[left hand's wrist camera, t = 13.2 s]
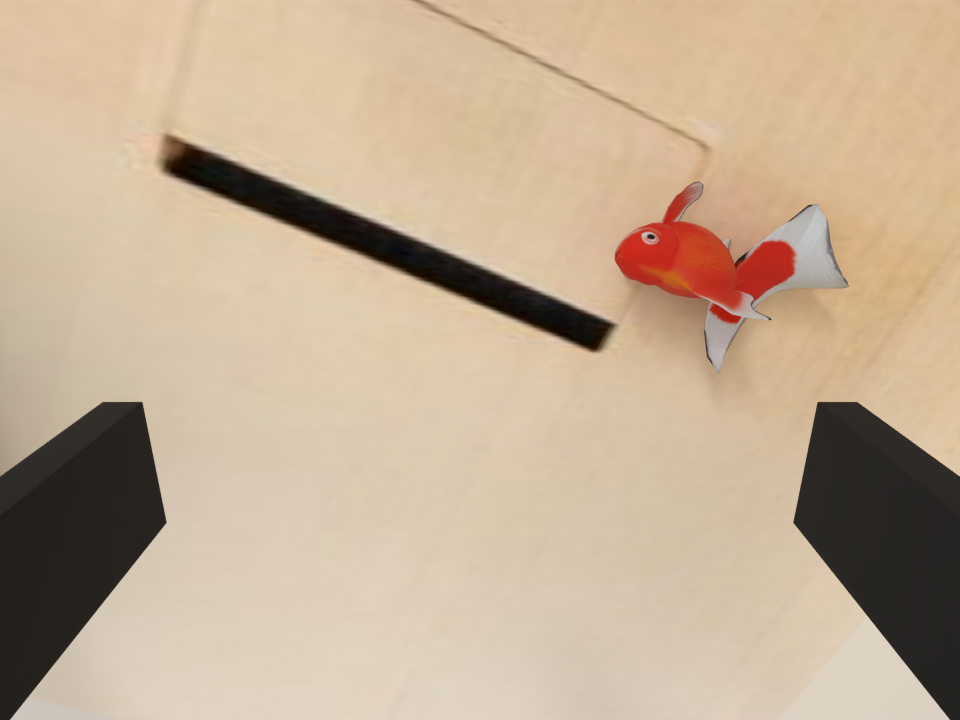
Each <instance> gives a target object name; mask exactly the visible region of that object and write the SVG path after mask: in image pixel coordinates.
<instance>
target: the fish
mask: <svg viewBox="0 0 960 720" xmlns="http://www.w3.org/2000/svg"><path fill="white" fill-rule="evenodd" d="M702 190H703V184H702V183H700V182H695V183H692V184H691V185H689V186H687V187H686V188H685V189H684V190H683V191H682V192H681V193H680V194H678V195H677V196H676V197H675V198H674V200H673V201H672V202H671V204H670V205H669V207H668V209H667V211H666V213H665V216H664V218H663V221H661V222H659V223H651V224H649V225H646V226H643V227H640V228H638V229H636V230H634V231H632V232H630V233H629V234H628V235H627V236H625V237H624V238H623V240H622V241H621V242H620V243H619V245H618V247H617V249H616V252H615V261H616V263H617V265H618V266H619V268H620V270H621V271H622V273H623V275H624V276H625V277H626V278H628V279H632V280H637V281H639V282H642V283H644V284H647V285H657V286H659V287H660V288H662V289H663V290H665V291H667V292H669V293H671V294H674V295H679V296H684V297H692V298H705V299H707V300H709V301H710V303H709V306H708V309H707V314H706V319H705V330H704V333H705V342H706V351H707V357H708V359H709V360H710V362H711V363H712V365H713V366H714V367H715V369H716V370H717V372H718V373H719V372H720V369H721V365H722V362H723V358H724V355H725V353H726V351H727V349H728V347H729V345H730V344H731V342H732V340H733V338H734V336H735V334H736V333H737V331H738V329H739V327H740V326H741V325H742V323H743V322H744V321H745V319H746V318H753V319H764V320H771V318H769V317H767V316H764V315H762V314H760V313H758V312H757V311H755V310H754V308H755V307H756V306H757V305H758V304H759V303H760V302H761V301H763V300H764V299H765V298H767V297H768V296H770V295H772V294H774V293H776V292H779V291H783V290H789V289H796V288H824V289H832V288H846V287H848V286H849V285H848V282H847V281H846V279H845V278H844V277H843V275H842V273H841V271H840V269H839V267H838V265H837V263H836V260H835V257H834V253H833V250H832V247H831V243H830V236H829V227H828V221H827V219H826V217H825V216H824V214H823V212H822V210H821V208H820V207H819V205H818V204H814V205H808V206H807V207H806V208H804V209H803V210H802V211H801V212H799V213H798V214H797V215H796V216H795V217H793V218H792V219H791V220H790V221H788V222H787V223H785V224H784V225H782V226H781V227H780V228H778V229H777V230H775V231H774V232H773V233H771V234H770V235H769V236H767V237H766V238H765V239H763V240H762V241H761V242H760V243H758V244H757V245H756V246H754V247H753V248H752V249H751V250H749V251H748V252H747V253H746V254H744V255H743V256H742V257H740V258H739V259H738V260H737V262H736V263H735V264H734V262H733V260H732V257H731V255H730V253H729V251H728V249H729V244H730V238H727V239H726V240H724V241H723V242H722V241H721V240H720V239H719V238H718V237H717V236H716V235H714V234H713V233H712V232H711V231H709V230H707V229H706V228H703V227H701V226H698V225H695V224H692V223H688V222H681V221H679V220H680V218H681V217H682V215H683V213H684V212H685V210H686V208H687V207H688V206H689V205H691V204H692V203H693V202H695V201H696V200H697V199H698V198H699V197H700V196H701V194H702ZM678 221H679V222H678Z"/></svg>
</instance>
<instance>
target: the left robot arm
mask: <svg viewBox="0 0 960 720" xmlns="http://www.w3.org/2000/svg"><path fill="white" fill-rule="evenodd" d="M166 523H167V522H166V517H165V512H164V507H163V503H162V498H161V493H160V488H159V483H158V478H157V473H156V468H155V463H154V458H153V453H152V448H151V443H150V438H149V433H148V428H147V423H146V418H145V413H144V408H143V403H142V402H102V403H101V404H100V405H98V406H97V407H95V408H94V409H93V410H91V411H90V412H89V413H87V414H86V415H84V416H83V417H82V418H80V419H79V420H78V421H76V422H75V423H73V424H72V425H71V426H69V427H68V428H67V429H65V430H64V431H62V432H61V433H60V434H58V435H57V436H55V437H54V438H53V439H51V440H50V441H49V442H47V443H46V444H44V445H43V446H42V447H40V448H39V449H38V450H36V451H35V452H33V453H32V454H31V455H29V456H28V457H27V458H25V459H24V460H22V461H21V462H20V463H18V464H17V465H16V466H14V467H13V468H11V469H10V470H9V471H7V472H6V473H5V474H3V475H2V476H0V720H10V719H11V718H12V717H13V715H14V714H15V713H16V711H17V710H18V709H19V708H20V706H21V705H22V704H23V703H24V701H25V700H26V699H27V698H28V696H29V695H30V694H31V693H32V691H33V690H34V689H35V688H36V686H37V685H38V684H39V683H40V681H41V680H42V679H43V678H44V676H45V675H46V674H47V672H48V671H49V670H50V669H51V667H52V666H53V665H54V664H55V662H56V661H57V660H58V659H59V657H60V656H61V655H62V654H63V652H64V651H65V650H66V649H67V647H68V646H69V645H70V644H71V642H72V641H73V640H74V639H75V637H76V636H77V635H78V633H79V632H80V631H81V630H82V628H83V627H84V626H85V625H86V623H87V622H88V621H89V620H90V618H91V617H92V616H93V615H94V613H95V612H96V611H97V610H98V608H99V607H100V606H101V605H102V603H103V602H104V601H105V600H106V598H107V597H108V596H109V594H110V593H111V592H112V591H113V589H114V588H115V587H116V586H117V584H118V583H119V582H120V581H121V579H122V578H123V577H124V576H125V574H126V573H127V572H128V571H129V569H130V568H131V567H132V566H133V564H134V563H135V562H136V561H137V559H138V558H139V557H140V555H141V554H142V553H143V552H144V550H145V549H146V548H147V547H148V545H149V544H150V543H151V542H152V540H153V539H154V538H155V537H156V535H157V534H158V533H159V532H160V530H161V529H162V528H163V527H164V525H165V524H166ZM793 523H794V524H795V525H796V527H797V528H798V529H799V530H800V532H801V533H802V534H803V535H804V537H805V538H806V539H807V540H808V542H809V543H810V544H811V545H812V547H813V548H814V549H815V550H816V552H817V553H818V554H819V555H820V557H821V558H822V559H823V561H824V562H825V563H826V564H827V566H828V567H829V568H830V569H831V571H832V572H833V573H834V574H835V576H836V577H837V578H838V579H839V581H840V582H841V583H842V584H843V586H844V587H845V588H846V589H847V591H848V592H849V593H850V594H851V596H852V597H853V598H854V600H855V601H856V602H857V603H858V605H859V606H860V607H861V608H862V610H863V611H864V612H865V613H866V615H867V616H868V617H869V618H870V620H871V621H872V622H873V623H874V625H875V626H876V627H877V628H878V630H879V631H880V632H881V633H882V635H883V636H884V637H885V639H886V640H887V641H888V642H889V644H890V645H891V646H892V647H893V649H894V650H895V651H896V652H897V654H898V655H899V656H900V657H901V659H902V660H903V661H904V662H905V664H906V665H907V666H908V667H909V669H910V670H911V671H912V672H913V674H914V675H915V676H916V677H917V679H918V680H919V681H920V682H921V684H922V685H923V686H924V688H925V689H926V690H927V691H928V693H929V694H930V695H931V696H932V698H933V699H934V700H935V701H936V703H937V704H938V705H939V706H940V708H941V709H942V710H943V711H944V713H945V714H946V715H947V716H948V718H949V719H950V720H960V476H958V475H957V474H955V473H954V472H953V471H951V470H950V469H949V468H947V467H946V466H944V465H943V464H942V463H940V462H939V461H938V460H936V459H935V458H933V457H932V456H931V455H929V454H928V453H927V452H925V451H924V450H922V449H921V448H920V447H918V446H917V445H916V444H914V443H913V442H911V441H910V440H909V439H907V438H906V437H905V436H903V435H902V434H900V433H899V432H898V431H896V430H895V429H893V428H892V427H891V426H889V425H888V424H887V423H885V422H884V421H882V420H881V419H880V418H878V417H877V416H876V415H874V414H873V413H871V412H870V411H869V410H867V409H866V408H865V407H863V406H862V405H860V404H859V403H858V402H818V403H817V408H816V413H815V418H814V423H813V428H812V433H811V438H810V443H809V448H808V453H807V458H806V463H805V468H804V473H803V478H802V483H801V488H800V493H799V498H798V503H797V507H796V512H795V517H794V522H793Z"/></svg>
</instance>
